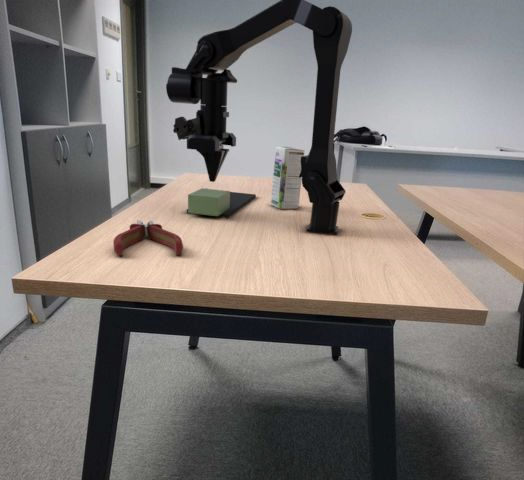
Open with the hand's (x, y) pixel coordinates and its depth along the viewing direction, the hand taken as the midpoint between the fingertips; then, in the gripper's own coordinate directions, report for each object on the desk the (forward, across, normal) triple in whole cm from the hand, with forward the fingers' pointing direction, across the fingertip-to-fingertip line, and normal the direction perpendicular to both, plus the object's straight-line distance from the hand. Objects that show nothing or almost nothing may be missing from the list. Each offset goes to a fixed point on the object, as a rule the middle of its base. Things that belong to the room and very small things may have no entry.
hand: (212, 181), depth 109 cm
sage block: (+4, +7, 0) cm, 8 cm away
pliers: (+7, +31, -2) cm, 31 cm away
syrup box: (+7, -16, +15) cm, 23 cm away
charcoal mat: (+7, -11, 0) cm, 13 cm away
